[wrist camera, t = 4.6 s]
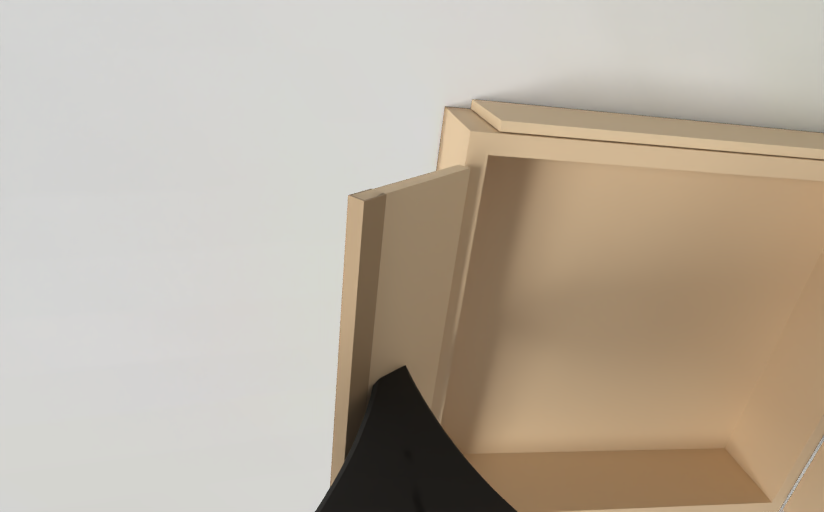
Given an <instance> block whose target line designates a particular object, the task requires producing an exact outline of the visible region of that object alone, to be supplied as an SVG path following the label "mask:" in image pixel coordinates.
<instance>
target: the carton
mask: <svg viewBox="0 0 824 512" xmlns="http://www.w3.org/2000/svg"><path fill="white" fill-rule="evenodd" d="M455 165H463V166H466V167H469V168H470V174H469V181H468V187H467V193H466V199H465V205H464V211H463V217H462V223H461V229H460V236H459V242H458V248H457V254H456V260H455V266H454V272H453V278H452V284H451V291H450V297H449V303H448V309H447V315H446V321H445V327H444V333H443V339H442V346H441V352H440V358H439V364H438V370H437V376H436V382H435V388H434V394H433V401H432V407H431V411H432V413H433V414H434V416H435V417H436V419H437V420H438V422H439V423H440V425H441V426H442V428H443V429H444V430H445V432H446V433H447V435H448V436H449V437H450V439H451V440H452V441H453V443H454V444H455V445H456V447H457V448H458V449H459V450H460V452H461V453H462V454H463V455H464V457H465V458H466V459H467V460H468V462H469V463H470V464H471V465H472V466H473V467H474V468H475V470H476V471H477V472H478V473H479V474H480V475H481V476H482V477H483V478H484V479H485V481H486V482H487V483H488V484H489V485H490V486H491V487H492V488H493V489H494V490H495V491H496V492H497V493H498V494H499V495H500V496H501V497H502V498H503V499H505V500H506V501H507V502H508V503H509V504H510V505H511V506H512V507H513V508H514V509H515V510H516V511H517V512H777V511H779V510H780V508H781V506H782V504H783V503H784V501H785V499H786V498H787V496H788V494H789V493H790V491H791V489H792V488H793V486H794V484H795V483H796V481H797V479H798V478H799V476H800V474H801V473H802V471H803V469H804V467H805V466H806V464H807V462H808V461H809V459H810V457H811V456H812V454H813V452H814V451H815V449H816V447H817V446H818V444H819V442H820V441H821V439H822V437H823V435H824V133H817V132H806V131H796V130H786V129H775V128H765V127H754V126H744V125H734V124H723V123H713V122H702V121H692V120H682V119H671V118H661V117H650V116H640V115H630V114H619V113H609V112H598V111H588V110H578V109H567V108H557V107H546V106H536V105H526V104H515V103H505V102H494V101H484V100H473V99H472V104H471V109H466V108H455V107H445V110H444V117H443V124H442V132H441V139H440V147H439V154H438V161H437V169H436V171H438V170H441V169H445V168H448V167H452V166H455Z"/></svg>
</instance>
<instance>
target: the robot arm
mask: <svg viewBox="0 0 824 512" xmlns="http://www.w3.org/2000/svg"><path fill="white" fill-rule="evenodd" d="M315 512H517V511H516V510H515V509H514V508H513V507H512V506H511V505H510V504H509V503H508V502H507V501H506V500H505V499H503V498H502V497H501V496H500V495H499V494H498V493H497V492H496V491H495V490H494V489H493V488H492V487H491V486H490V485H489V484H488V483H487V482H486V481H485V479H484V478H483V477H482V476H481V475H480V474H479V473H478V472H477V471H476V470H475V468H474V467H473V466H472V465H471V464H470V463H469V462H468V460H467V459H466V458H465V457H464V455H463V454H462V453H461V452H460V450H459V449H458V448H457V447H456V445H455V444H454V443H453V441H452V440H451V439H450V437H449V436H448V435H447V433H446V432H445V430H444V429H443V428H442V426H441V425H440V423H439V422H438V420H437V419H436V417H435V416H434V414H433V413H432V411H431V409H430V408H429V406H428V405H427V403H426V402H425V400H424V398H423V397H422V395H421V393H420V391H419V390H418V388H417V386H416V384H415V382H414V380H413V379H412V377H411V375H410V373H409V371H408V369H407V367H406V365H405V366H403V367H400V368H398V369H396V370H394V371H393V372H391V373H389V374H387V375H385V376H383V377H381V378H379V379H378V380H377V382H376V383H375V384H374V385H373V387H372V392H371V396H370V399H369V402H368V405H367V409H366V412H365V415H364V418H363V420H362V423H361V425H360V428H359V430H358V433H357V435H356V438H355V440H354V442H353V445H352V447H351V449H350V451H349V453H348V455H347V457H346V459H345V461H344V463H343V465H342V467H341V469H340V471H339V473H338V475H337V476H336V478H335V480H334V482H333V483H332V485H331V487H330V489H329V490H328V492H327V494H326V495H325V497H324V499H323V500H322V502H321V503H320V505H319V507H318V508H317V510H316V511H315Z"/></svg>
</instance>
